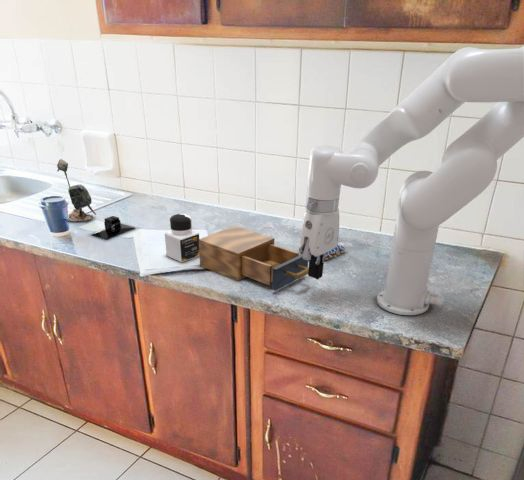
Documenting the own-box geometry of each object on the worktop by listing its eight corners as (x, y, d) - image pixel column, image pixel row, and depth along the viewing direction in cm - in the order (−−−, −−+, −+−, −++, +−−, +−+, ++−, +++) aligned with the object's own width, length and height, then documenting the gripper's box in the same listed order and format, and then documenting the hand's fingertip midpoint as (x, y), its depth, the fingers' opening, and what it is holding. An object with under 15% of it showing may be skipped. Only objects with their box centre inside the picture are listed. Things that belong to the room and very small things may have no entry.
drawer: (320, 278, 137) (322, 258, 134) (288, 296, 128) (289, 274, 125) (268, 260, 146) (269, 240, 143) (236, 275, 138) (235, 255, 135)
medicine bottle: (182, 263, 146) (178, 222, 140) (166, 256, 151) (162, 215, 144) (200, 255, 151) (198, 215, 144) (184, 249, 155) (182, 210, 148)
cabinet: (273, 264, 147) (274, 238, 142) (238, 281, 137) (238, 253, 133) (235, 250, 155) (235, 225, 150) (199, 265, 145) (198, 239, 141)
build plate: (106, 240, 160) (104, 226, 158) (90, 235, 164) (88, 221, 161) (135, 228, 169) (133, 214, 167) (119, 224, 172) (117, 210, 170)
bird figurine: (86, 225, 171) (75, 163, 160) (60, 220, 175) (47, 159, 164) (102, 218, 177) (92, 157, 166) (76, 213, 181) (65, 153, 170)
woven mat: (346, 252, 154) (347, 246, 153) (324, 262, 148) (324, 256, 147) (320, 243, 161) (320, 237, 159) (297, 252, 154) (297, 245, 153)
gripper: (316, 215, 112) (309, 291, 122) (353, 200, 121) (344, 272, 131) (289, 207, 116) (284, 281, 126) (327, 193, 125) (319, 263, 135)
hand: (315, 276), depth 128 cm, fingers closed
